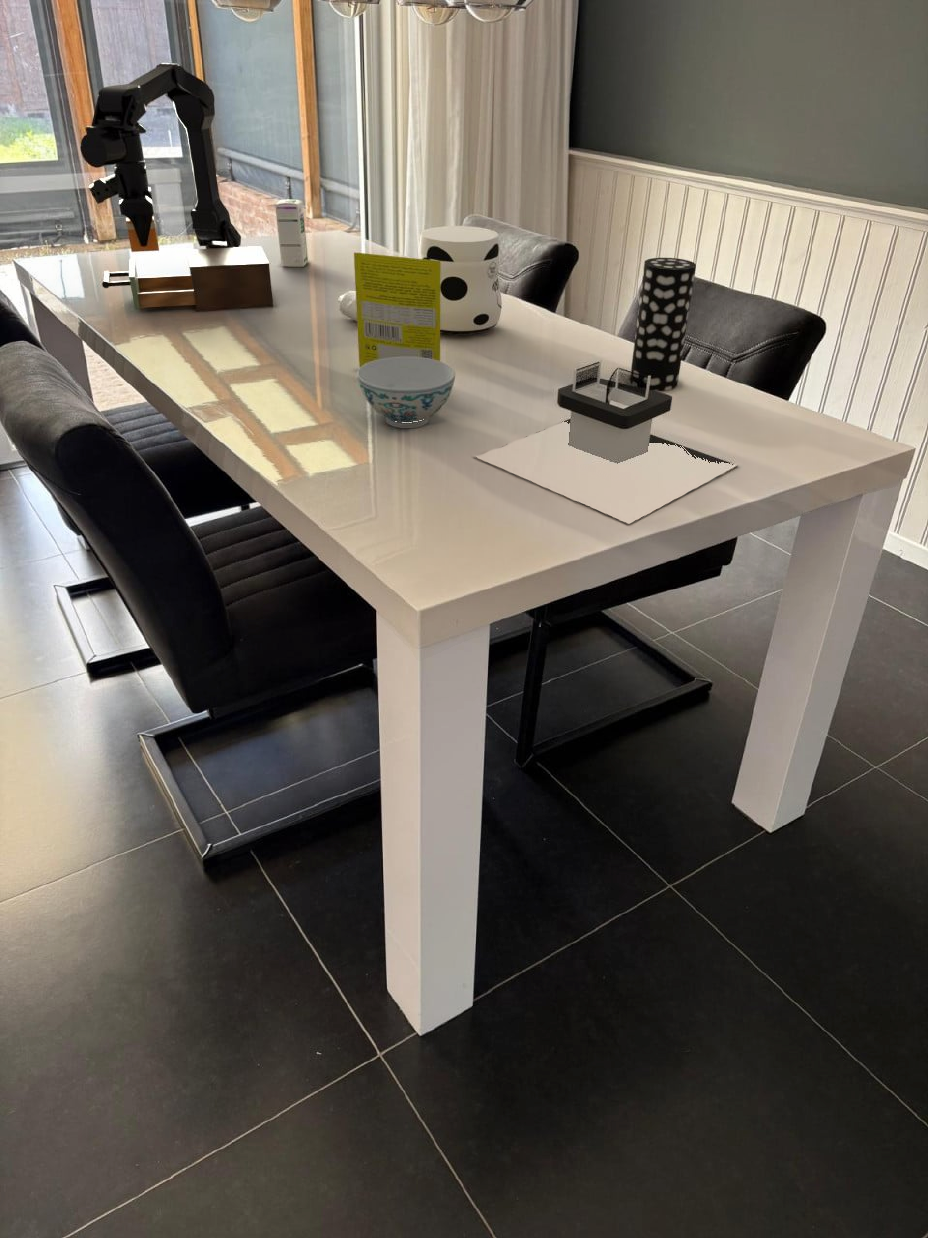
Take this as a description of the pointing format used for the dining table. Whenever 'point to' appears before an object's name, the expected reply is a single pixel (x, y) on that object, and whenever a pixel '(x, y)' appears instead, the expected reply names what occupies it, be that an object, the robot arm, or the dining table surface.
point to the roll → (349, 305)
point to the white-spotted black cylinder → (662, 321)
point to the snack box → (134, 241)
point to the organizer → (230, 278)
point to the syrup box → (291, 233)
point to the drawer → (154, 288)
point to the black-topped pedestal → (615, 415)
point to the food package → (397, 307)
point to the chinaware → (406, 388)
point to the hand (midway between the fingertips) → (143, 244)
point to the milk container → (465, 276)
